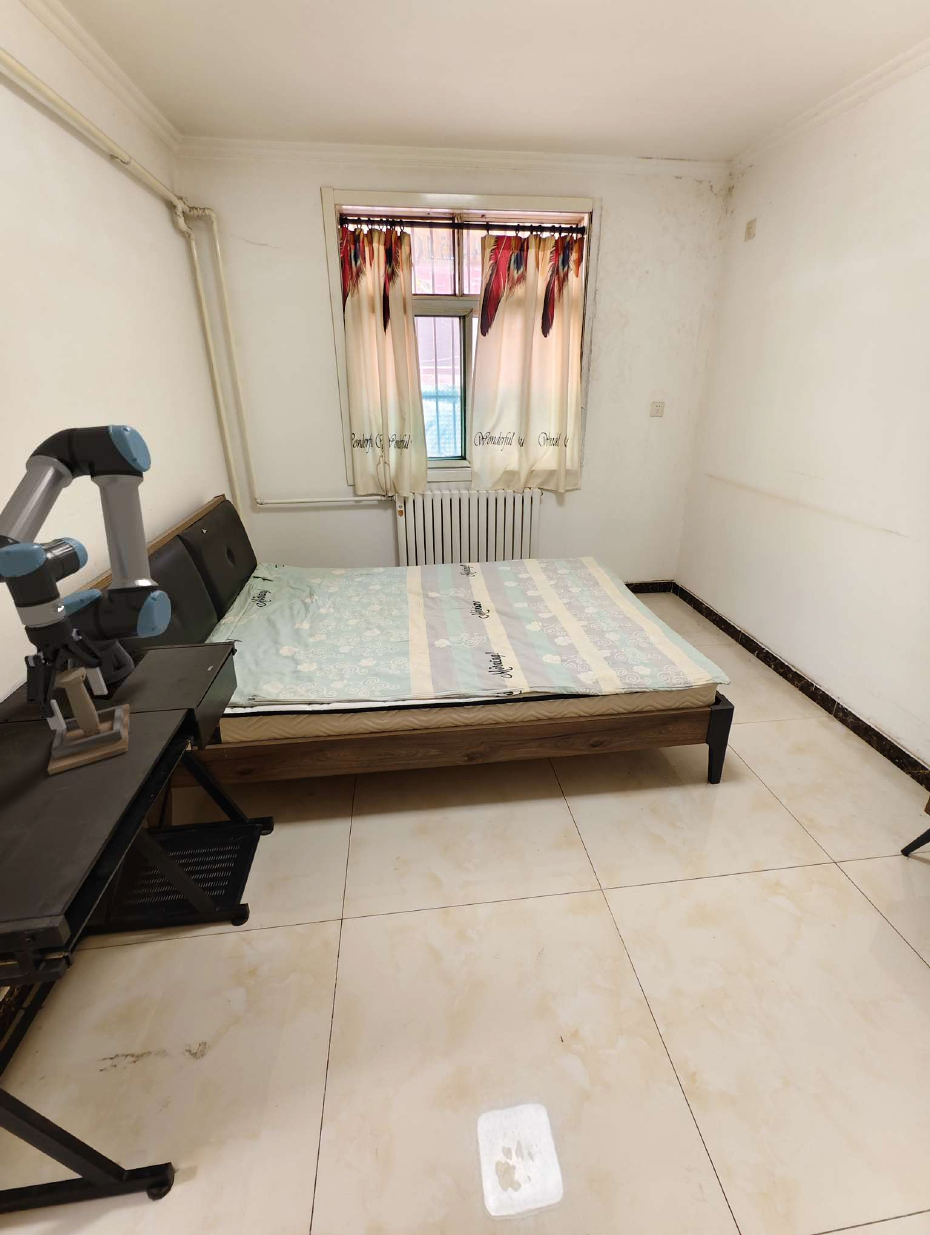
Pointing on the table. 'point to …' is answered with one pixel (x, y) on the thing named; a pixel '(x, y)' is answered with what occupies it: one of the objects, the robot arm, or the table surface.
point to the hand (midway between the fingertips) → (81, 710)
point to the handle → (79, 700)
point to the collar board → (90, 740)
